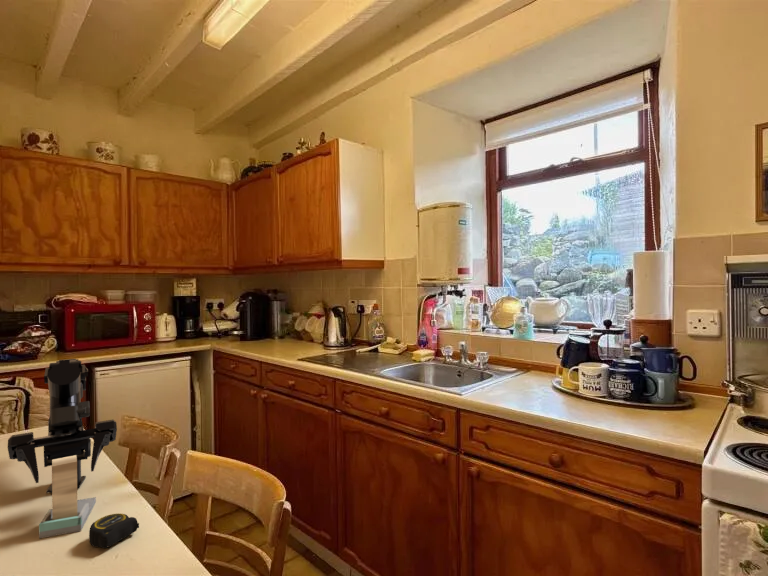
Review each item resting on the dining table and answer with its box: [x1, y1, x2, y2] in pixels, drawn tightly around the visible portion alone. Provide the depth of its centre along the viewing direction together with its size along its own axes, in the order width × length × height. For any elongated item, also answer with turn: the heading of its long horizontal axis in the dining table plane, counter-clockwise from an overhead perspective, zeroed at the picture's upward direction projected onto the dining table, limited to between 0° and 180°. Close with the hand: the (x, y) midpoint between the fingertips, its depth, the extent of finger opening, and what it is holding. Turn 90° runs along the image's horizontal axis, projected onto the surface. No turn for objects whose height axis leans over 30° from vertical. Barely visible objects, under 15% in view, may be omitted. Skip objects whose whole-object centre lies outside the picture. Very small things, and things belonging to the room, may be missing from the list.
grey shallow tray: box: [38, 496, 97, 539], centre depth 90 cm, size 12×7×3 cm, turn 22°
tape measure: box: [88, 513, 140, 549], centre depth 83 cm, size 7×7×4 cm
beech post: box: [51, 455, 78, 520], centre depth 88 cm, size 4×4×12 cm
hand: (65, 476), depth 90 cm, fingers open, 9 cm apart
